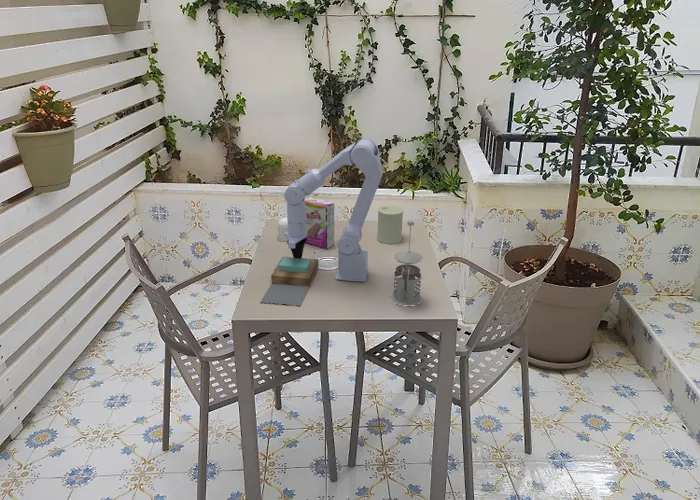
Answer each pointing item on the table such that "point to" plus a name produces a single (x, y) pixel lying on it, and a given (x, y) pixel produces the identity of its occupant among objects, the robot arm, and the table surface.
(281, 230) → the white domed cylinder
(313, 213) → the candy bar box
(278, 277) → the deck
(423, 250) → the table surface
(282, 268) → the teal rectangular block
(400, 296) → the french press
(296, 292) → the mat
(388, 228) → the can
